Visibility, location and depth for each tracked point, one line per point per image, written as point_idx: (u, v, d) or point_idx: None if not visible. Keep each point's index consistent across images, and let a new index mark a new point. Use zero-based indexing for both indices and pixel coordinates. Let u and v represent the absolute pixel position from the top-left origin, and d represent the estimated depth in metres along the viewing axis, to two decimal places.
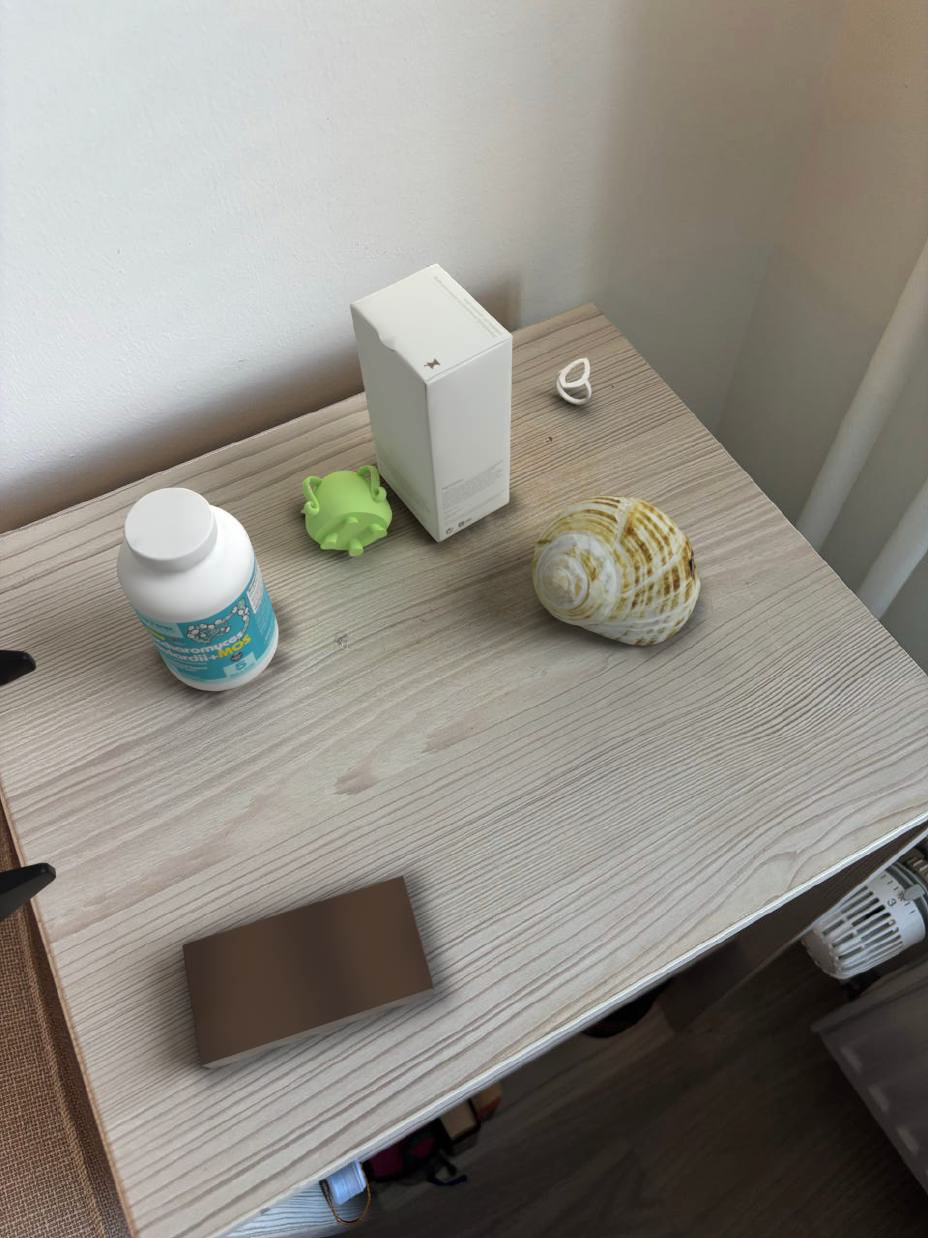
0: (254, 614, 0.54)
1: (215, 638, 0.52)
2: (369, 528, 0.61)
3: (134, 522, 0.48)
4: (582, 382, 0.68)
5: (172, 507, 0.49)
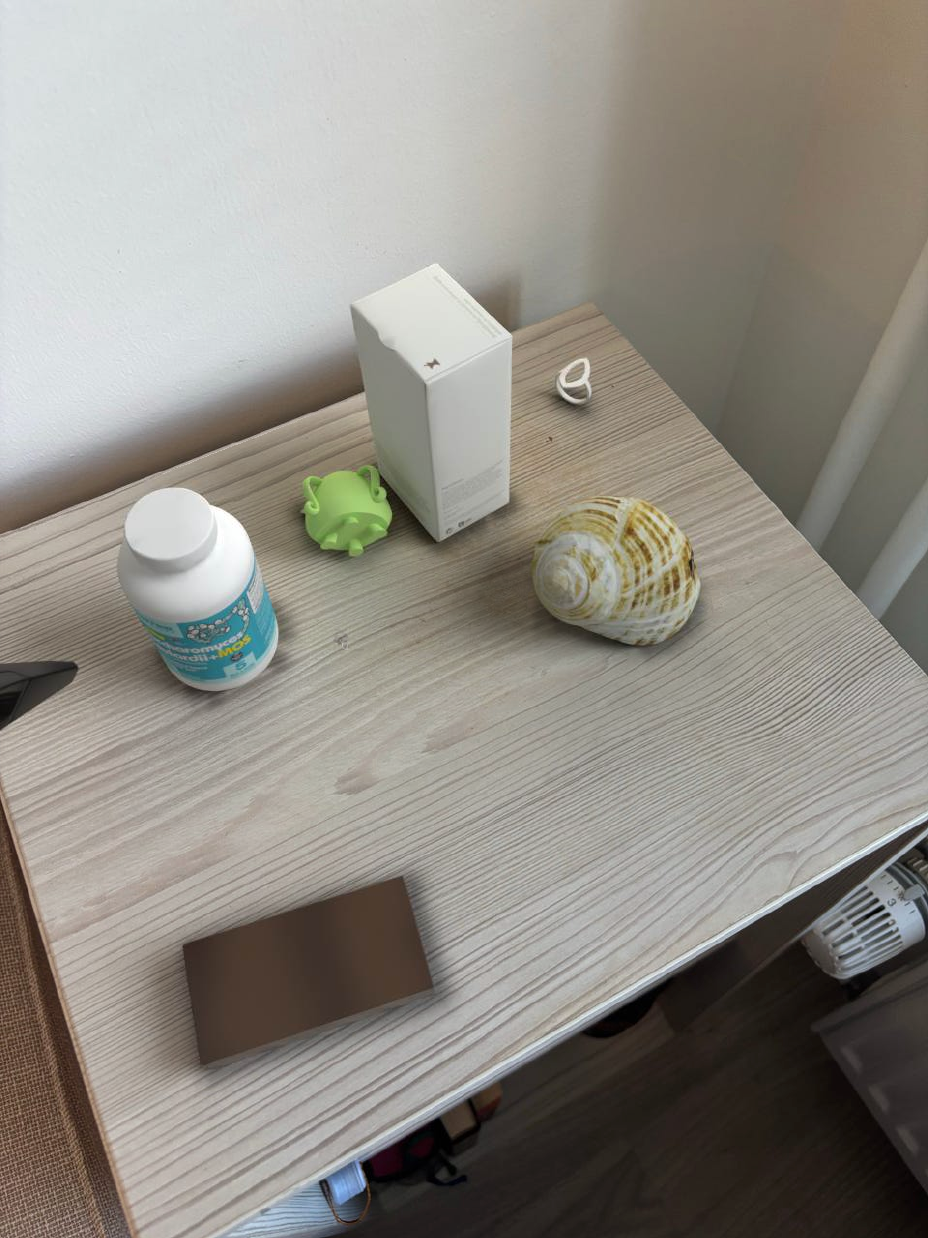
0: (254, 614, 0.54)
1: (215, 639, 0.52)
2: (369, 528, 0.61)
3: (134, 522, 0.48)
4: (582, 382, 0.68)
5: (172, 507, 0.49)
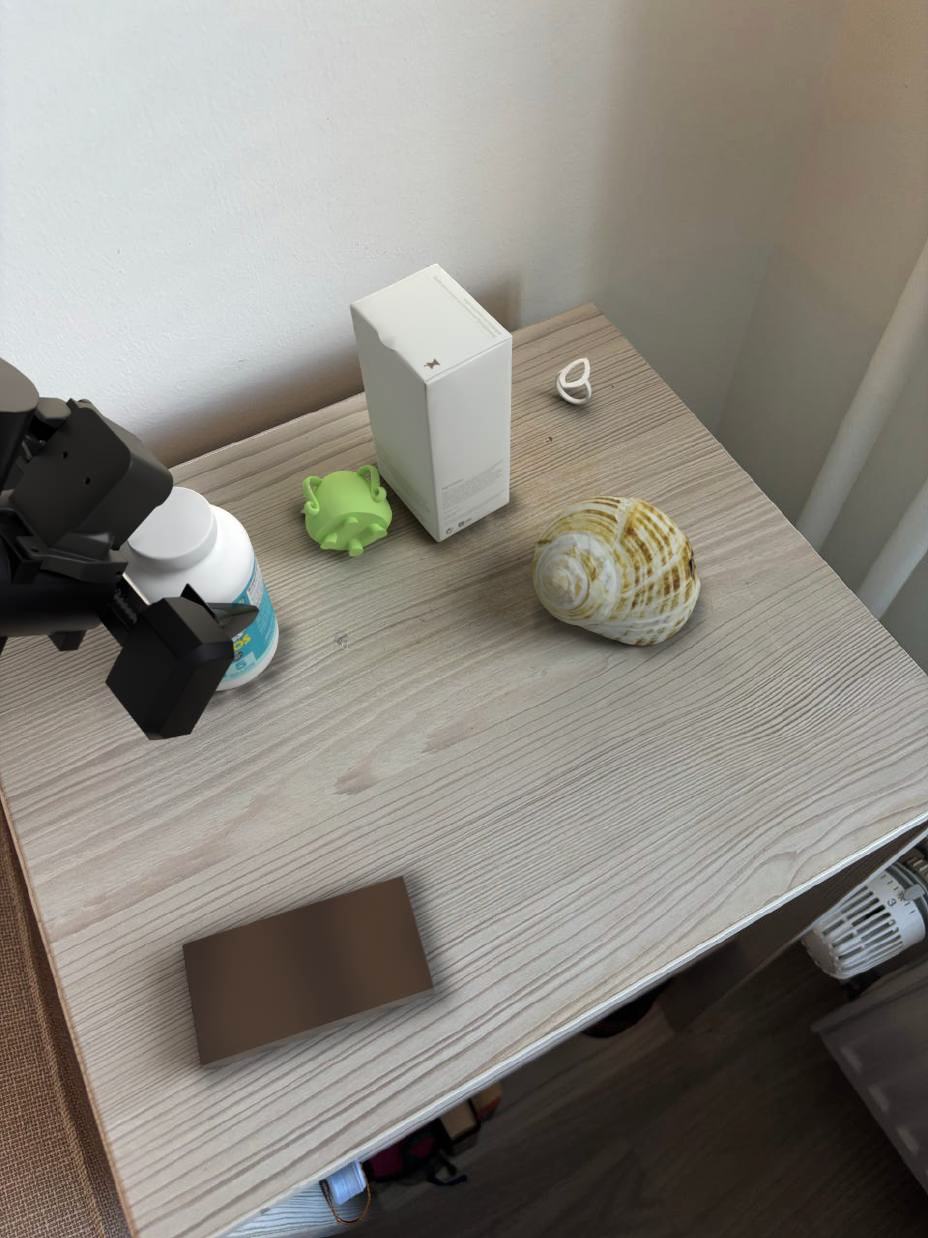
0: None
1: None
2: (369, 528, 0.61)
3: None
4: (582, 382, 0.68)
5: (171, 506, 0.49)
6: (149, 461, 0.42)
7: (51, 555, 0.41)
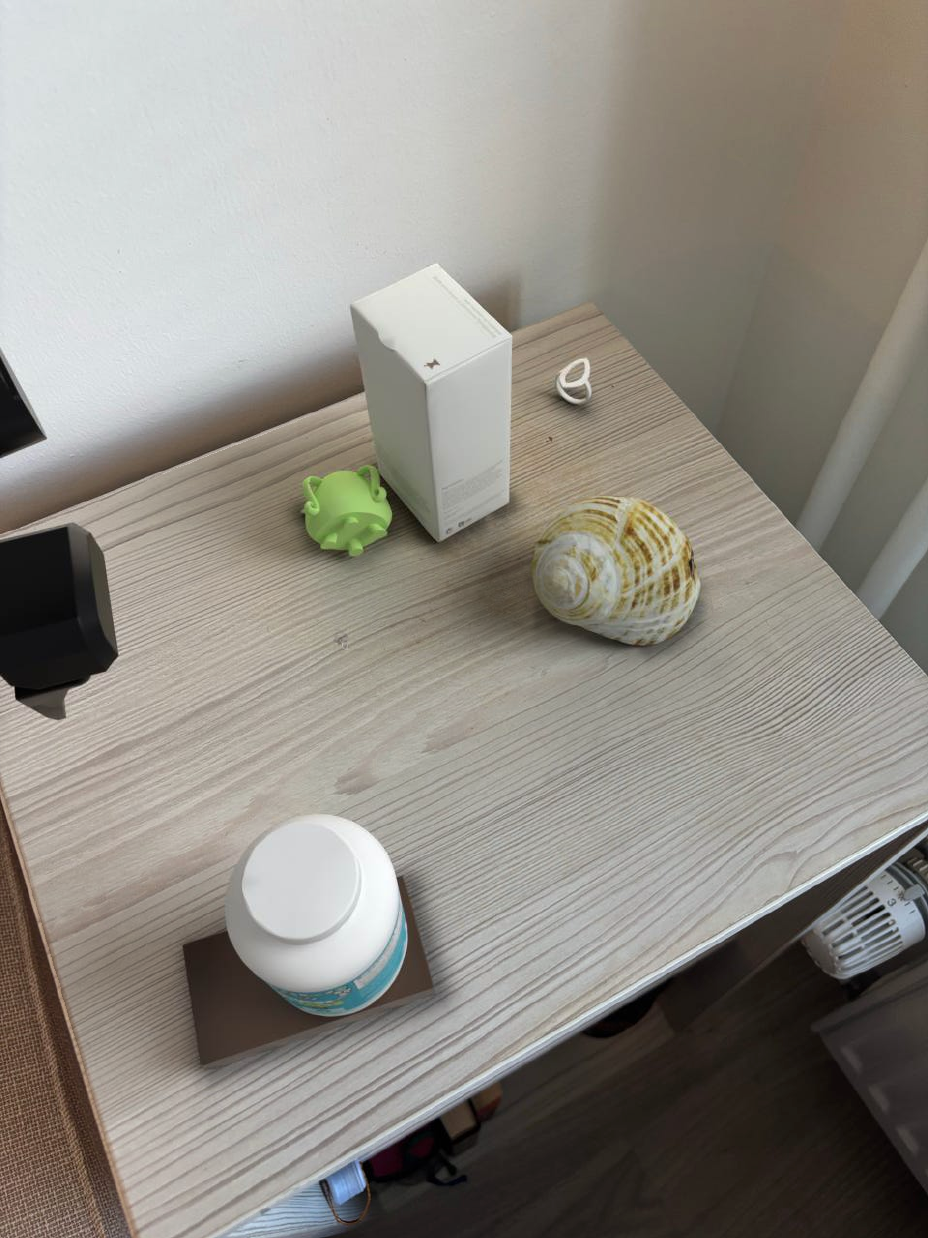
0: (359, 989, 0.41)
1: (297, 998, 0.40)
2: (369, 528, 0.61)
3: (266, 853, 0.37)
4: (582, 382, 0.68)
5: (316, 859, 0.37)
6: None
7: None
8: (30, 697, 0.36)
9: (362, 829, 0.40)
